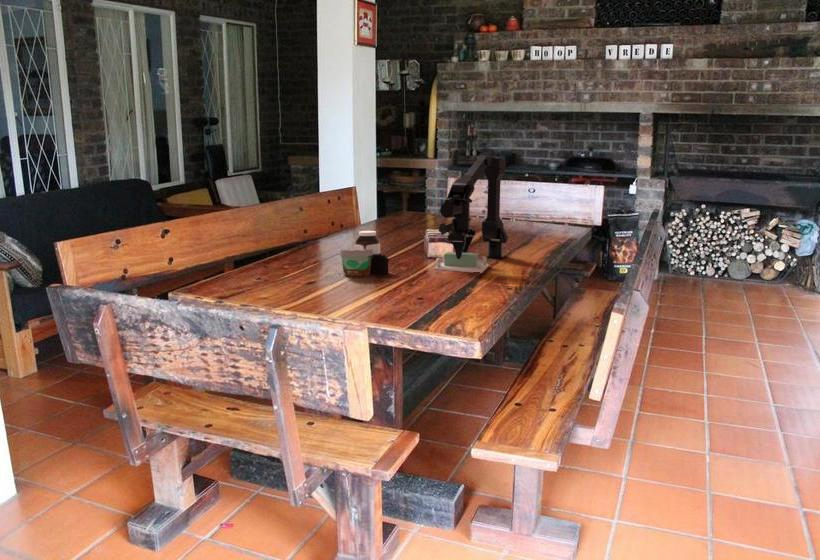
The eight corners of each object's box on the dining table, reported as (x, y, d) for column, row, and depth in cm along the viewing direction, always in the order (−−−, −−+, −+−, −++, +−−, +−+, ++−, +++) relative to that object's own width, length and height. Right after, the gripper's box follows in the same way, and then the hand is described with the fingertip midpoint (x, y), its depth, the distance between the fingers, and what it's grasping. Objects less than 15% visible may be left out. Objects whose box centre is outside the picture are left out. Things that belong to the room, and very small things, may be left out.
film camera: (392, 272, 272) (392, 248, 271) (387, 276, 263) (386, 252, 261) (352, 271, 275) (352, 247, 273) (346, 275, 265) (345, 251, 264)
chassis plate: (442, 265, 284) (442, 254, 284) (488, 267, 279) (488, 256, 278) (434, 270, 273) (434, 259, 272) (481, 273, 268) (481, 261, 267)
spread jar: (381, 258, 302) (381, 230, 300) (377, 263, 291) (377, 234, 289) (352, 258, 304) (352, 230, 301) (347, 262, 292) (347, 233, 290)
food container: (337, 279, 258) (337, 251, 256) (339, 276, 264) (339, 248, 262) (372, 279, 258) (372, 251, 256) (374, 276, 264) (373, 248, 262)
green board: (447, 263, 280) (447, 251, 279) (478, 265, 276) (478, 253, 276) (444, 265, 275) (444, 253, 274) (475, 267, 272) (475, 255, 271)
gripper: (447, 212, 283) (447, 252, 286) (434, 217, 266) (434, 260, 269) (475, 213, 280) (475, 253, 283) (463, 218, 263) (463, 261, 266)
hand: (461, 257), depth 275 cm, fingers open, 9 cm apart
